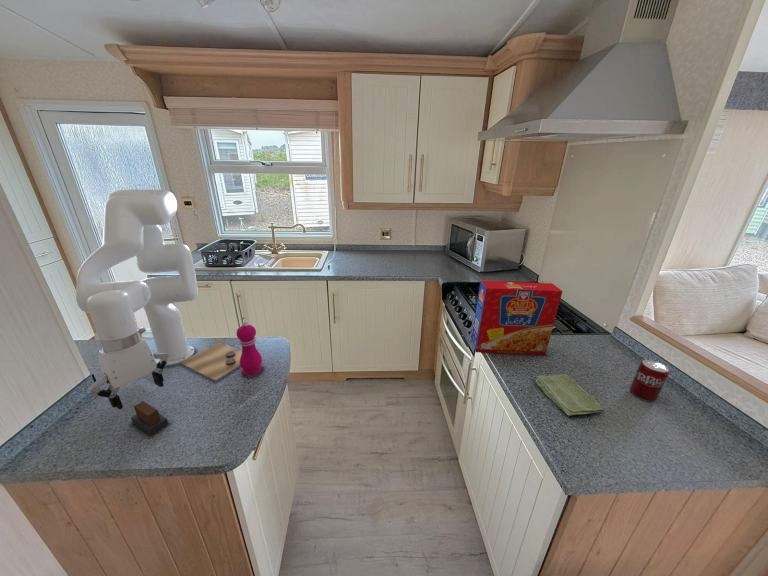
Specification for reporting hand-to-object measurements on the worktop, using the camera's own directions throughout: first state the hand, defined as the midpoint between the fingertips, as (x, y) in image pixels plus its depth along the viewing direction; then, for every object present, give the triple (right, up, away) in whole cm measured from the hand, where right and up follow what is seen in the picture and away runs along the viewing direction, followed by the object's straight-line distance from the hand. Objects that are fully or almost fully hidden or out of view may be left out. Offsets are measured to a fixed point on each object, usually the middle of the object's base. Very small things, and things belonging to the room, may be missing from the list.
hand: (140, 395), depth 82 cm
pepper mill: (+19, -1, +27) cm, 33 cm away
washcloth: (+125, -7, +19) cm, 127 cm away
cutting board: (+4, +2, +32) cm, 32 cm away
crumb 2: (+9, +2, +30) cm, 31 cm away
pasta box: (+117, +4, +45) cm, 125 cm away
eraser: (0, -9, +4) cm, 10 cm away
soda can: (+152, -7, +21) cm, 154 cm away
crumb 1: (+7, +3, +34) cm, 35 cm away
